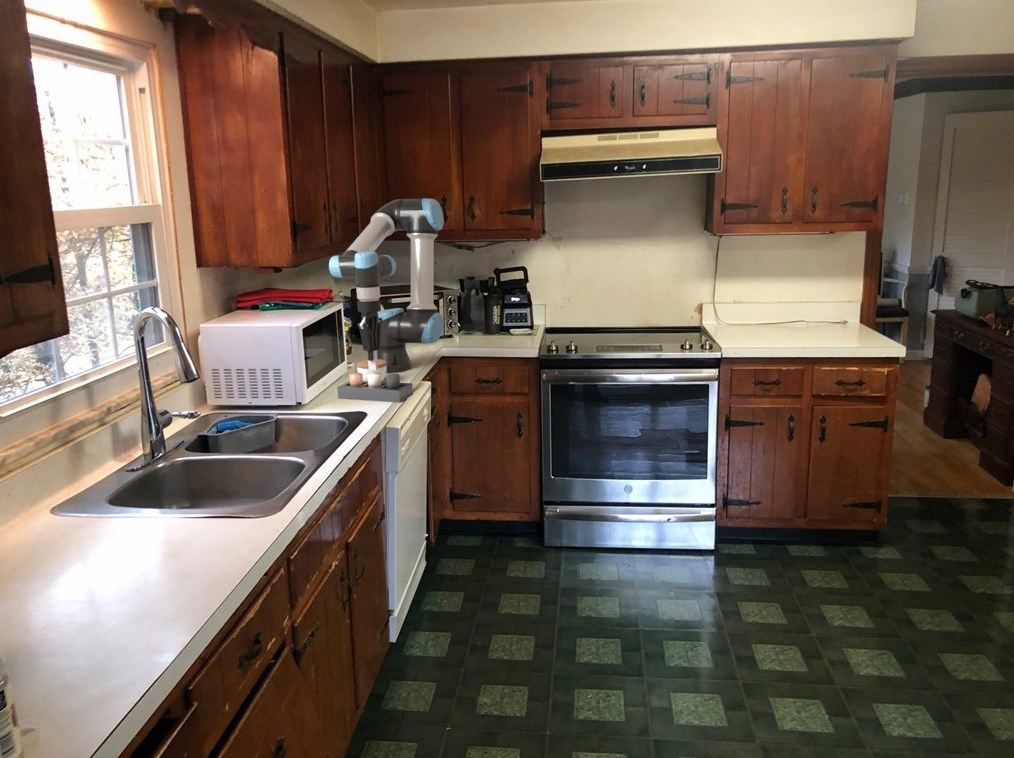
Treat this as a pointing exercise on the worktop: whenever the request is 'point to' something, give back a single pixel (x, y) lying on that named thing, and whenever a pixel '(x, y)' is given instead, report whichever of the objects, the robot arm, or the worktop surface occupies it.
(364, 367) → the lidded jar
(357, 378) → the pink rounded cylinder
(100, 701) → the worktop surface
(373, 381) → the cream cup
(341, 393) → the dark grey tray
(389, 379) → the grey cup
